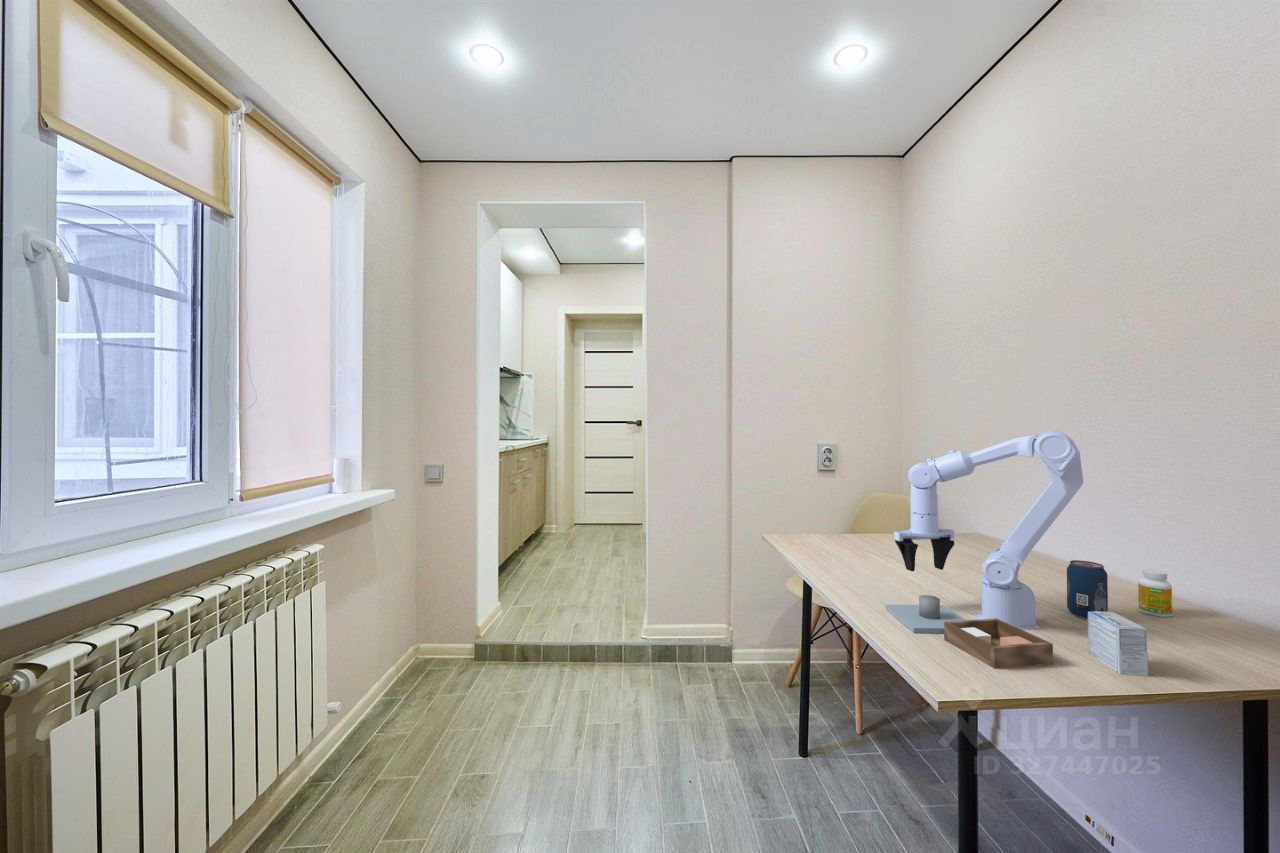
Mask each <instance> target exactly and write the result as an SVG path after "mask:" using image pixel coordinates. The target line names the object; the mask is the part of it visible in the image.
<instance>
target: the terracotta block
mask: <svg viewBox="0 0 1280 853" xmlns="http://www.w3.org/2000/svg"><path fill="white" fill-rule="evenodd" d="M1028 643H1032V642H1030V641H1028V640H1026V639H1024V638H1022V637H1020V636H1012V637H1000V646H1003V645H1015V644H1028Z"/></svg>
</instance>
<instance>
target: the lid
mask: <svg viewBox="0 0 1280 853" xmlns="http://www.w3.org/2000/svg"><path fill="white" fill-rule="evenodd" d="M884 608H885V610H886V611H887V612H888V613H890V614H891V615H892V616H893V617H894V618H896V620H898V621H899V622H900V623H901V624H902V625H904V626H905V627H906V628H907V629H908V630H910V631H911V632H912V633H914V634H944V622H952V621H966V620H967V619H966V618H964V617H963V616H961V615H959V614H958V613H957V612H955V611H953V610H951V609H950V608H948V607H947V606H946V605H943V604H941V598H939V597H937V596H934V595H929V594H921V595H919V596H918V604H884Z"/></svg>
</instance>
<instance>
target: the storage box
mask: <svg viewBox="0 0 1280 853" xmlns="http://www.w3.org/2000/svg"><path fill="white" fill-rule="evenodd" d="M970 627H975V628H977V629H979V630H981V631H983V632H985V633H987V634H989V635H991V644H989V643H987V642H985V641H984V640H982V639H980V638H978V637H976V636H974V635H972V634H970V633H968V632H966V631H964V630H962V629H960V628H970ZM1012 636H1020V637H1022V638H1024V639H1026V640H1028V641H1030V642H1032V643H1028V644H1015V645H1003V646H1000V637H1012ZM943 640H944V641H945V642H947V643H948V644H951V645H952V646H954V647H955V648H957V649H959V650H961V651H963V652H965V653H966V654H968V655H970V656H971V657H973V658H974V659H977V660H979V661H981V662H982V663H983V664H985V665H987V666H989V667H990V668H992V669H994V670H995V669H1006V668H1019V667H1029V666H1030V667H1031V666H1041V665H1053V664H1054V650H1053V649H1054V644H1053V643H1052V642H1051V641H1048V640H1045V639H1043V638H1041V637H1039V636H1037V635H1035V634H1032V633H1030V632H1028V631H1025V630H1024V629H1022V630H1021V629H1019V628H1017V627H1015V626H1012V625H1010V624H1008V623H1006V622H1003V621H1001V620H999V619H997V618H995V619H980V620H977V619H969V620H967V619H966V621H952V622H944V633H943Z"/></svg>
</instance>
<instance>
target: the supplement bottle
mask: <svg viewBox="0 0 1280 853" xmlns="http://www.w3.org/2000/svg"><path fill="white" fill-rule="evenodd" d="M1141 575H1142V576H1143V577H1141V578H1139V579H1138V583H1137V584H1138V586H1137V587H1138V590H1137V591H1138V594H1137V595H1138V597H1137V598H1138V600H1137V601H1138V602H1137V603H1138V610H1139V611H1140V612H1142V613H1143V614H1144V613H1145V614H1146V615H1147V614H1148V615H1150V616H1154V617H1161V618H1162V617H1163V618H1168V617H1172V615H1173V586H1172V584H1171V583H1170V582H1169V581H1167V580H1168V572H1166V571H1163V570H1159V569H1152V568H1143V569H1142V572H1141Z"/></svg>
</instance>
